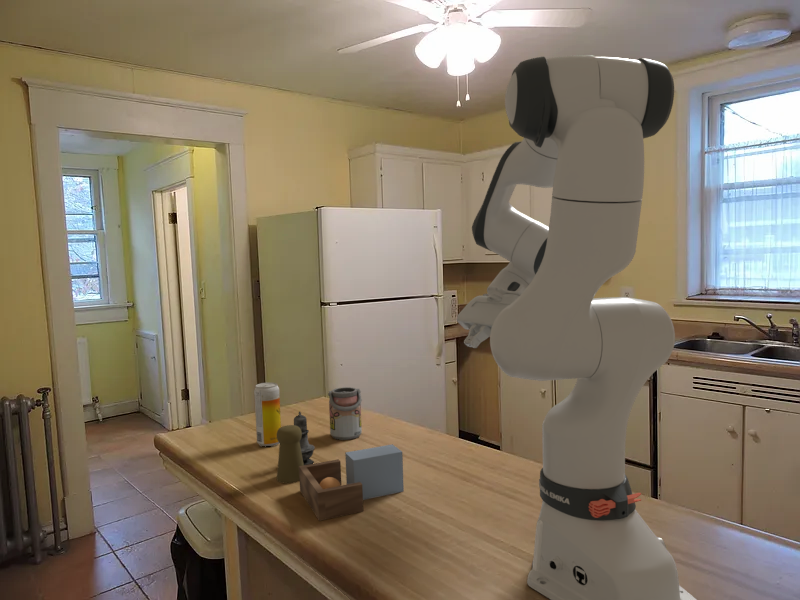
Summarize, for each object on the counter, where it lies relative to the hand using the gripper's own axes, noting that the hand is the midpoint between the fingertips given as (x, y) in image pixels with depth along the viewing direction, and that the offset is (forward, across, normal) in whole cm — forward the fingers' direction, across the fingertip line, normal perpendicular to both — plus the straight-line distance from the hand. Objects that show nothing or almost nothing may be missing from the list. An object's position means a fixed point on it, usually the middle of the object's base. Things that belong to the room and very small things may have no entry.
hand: (469, 345), depth 116 cm
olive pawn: (+43, -18, -5) cm, 47 cm away
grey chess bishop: (+40, -24, -2) cm, 47 cm away
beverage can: (+29, -38, +8) cm, 49 cm away
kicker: (+34, -2, +5) cm, 34 cm away
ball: (+38, -2, -5) cm, 39 cm away
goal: (+40, -2, -1) cm, 40 cm away
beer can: (+43, -42, -5) cm, 61 cm away
